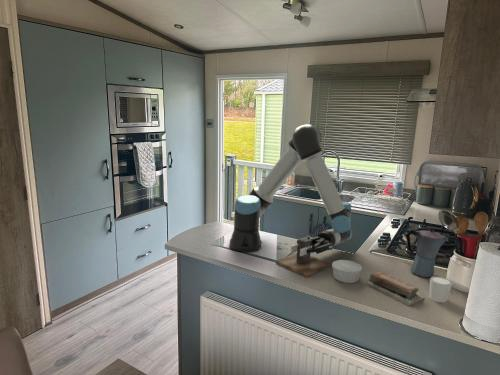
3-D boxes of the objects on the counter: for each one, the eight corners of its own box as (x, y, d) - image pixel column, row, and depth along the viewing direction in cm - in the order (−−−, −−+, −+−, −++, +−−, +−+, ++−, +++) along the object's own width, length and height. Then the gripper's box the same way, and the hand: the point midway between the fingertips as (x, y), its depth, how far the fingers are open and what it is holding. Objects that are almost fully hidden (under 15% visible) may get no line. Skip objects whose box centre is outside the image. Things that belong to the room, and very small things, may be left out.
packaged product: (366, 273, 130) (381, 267, 136) (364, 285, 131) (380, 279, 137) (411, 294, 116) (426, 287, 122) (409, 307, 117) (424, 299, 123)
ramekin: (327, 280, 133) (329, 267, 132) (334, 269, 143) (336, 257, 142) (357, 287, 128) (359, 274, 127) (362, 276, 138) (364, 263, 137)
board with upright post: (275, 263, 145) (277, 238, 143) (299, 254, 156) (301, 230, 154) (306, 277, 134) (309, 250, 132) (329, 266, 145) (332, 241, 143)
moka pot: (445, 281, 137) (453, 233, 133) (403, 275, 140) (411, 228, 136) (437, 271, 146) (445, 226, 142) (398, 266, 149) (405, 222, 145)
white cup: (426, 299, 122) (429, 281, 120) (428, 291, 127) (431, 274, 126) (448, 306, 118) (451, 287, 117) (449, 297, 124) (452, 279, 123)
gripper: (344, 252, 151) (312, 266, 135) (312, 241, 163) (279, 253, 147) (346, 236, 149) (314, 248, 133) (313, 226, 161) (280, 236, 145)
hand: (296, 250), depth 140 cm, fingers closed on board with upright post, 4 cm apart
